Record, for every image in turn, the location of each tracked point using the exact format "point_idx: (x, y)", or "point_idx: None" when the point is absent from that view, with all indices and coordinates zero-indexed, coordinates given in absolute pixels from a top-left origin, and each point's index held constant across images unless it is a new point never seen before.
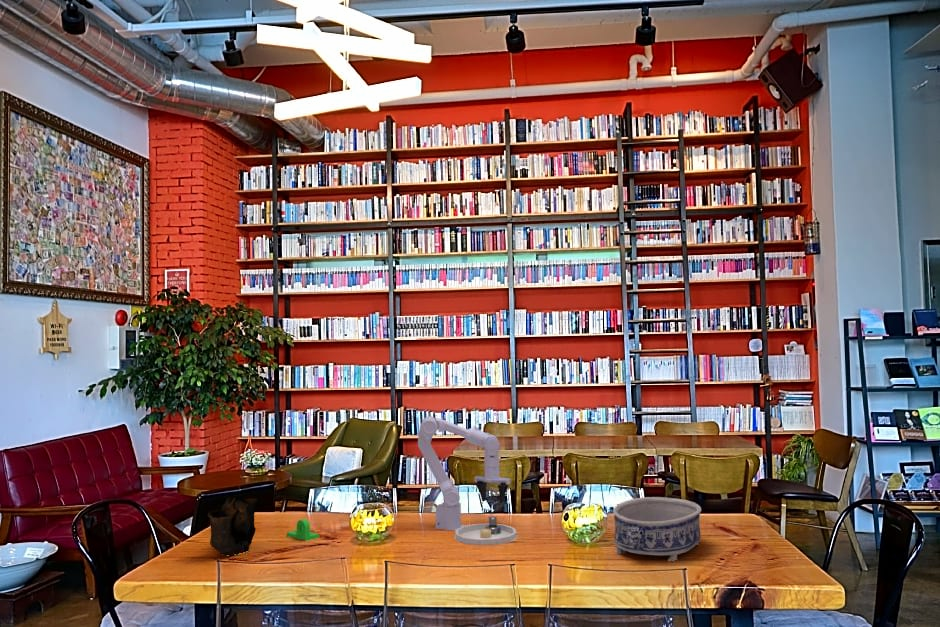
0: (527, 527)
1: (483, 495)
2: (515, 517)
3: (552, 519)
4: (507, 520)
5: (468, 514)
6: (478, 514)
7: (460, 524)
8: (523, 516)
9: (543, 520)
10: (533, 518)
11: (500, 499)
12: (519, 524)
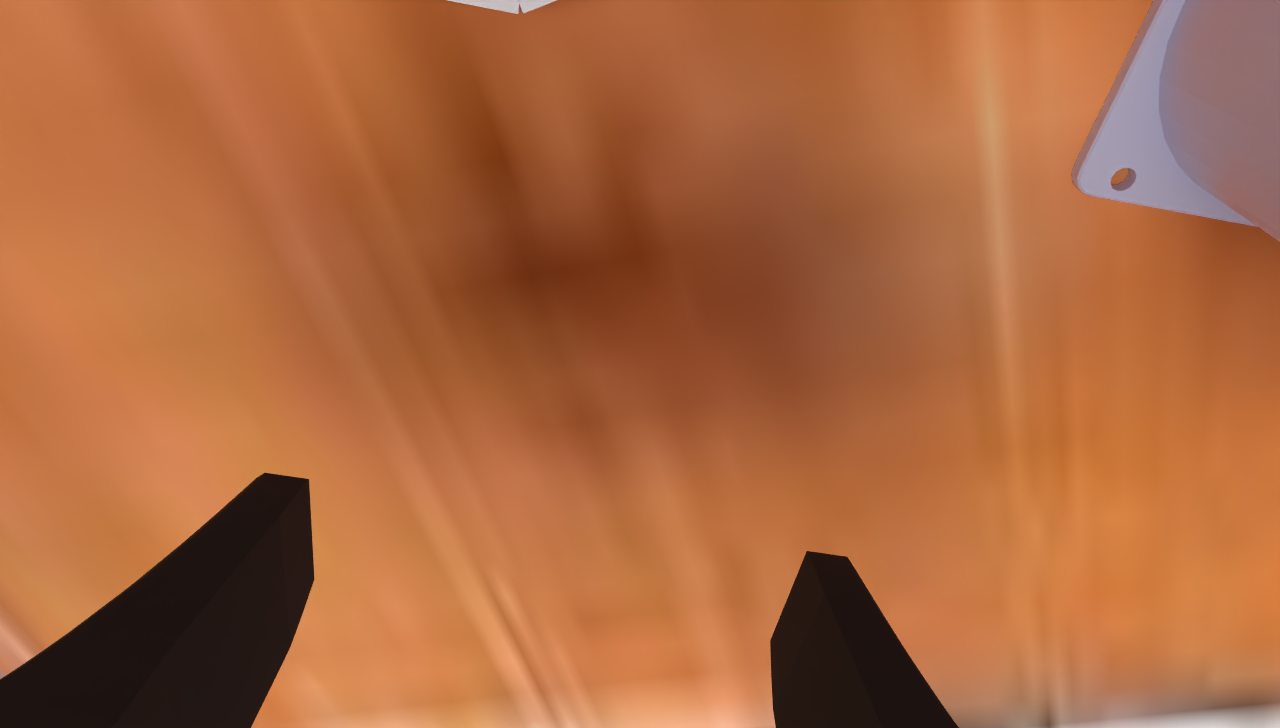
0: (56, 289)
1: (836, 701)
2: (451, 659)
3: (7, 649)
4: (495, 547)
5: (1046, 686)
6: None
7: (1201, 39)
8: (380, 698)
9: (75, 606)
10: None
11: (229, 532)
12: (254, 411)
